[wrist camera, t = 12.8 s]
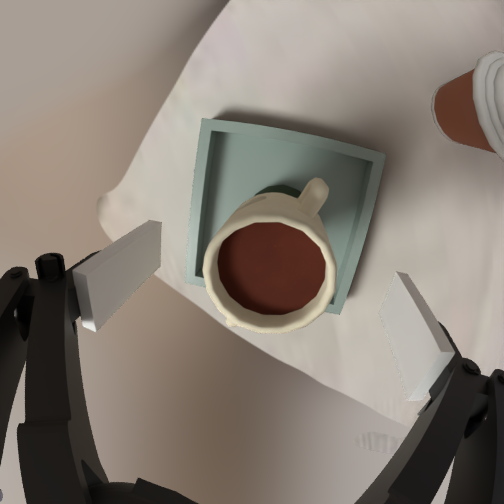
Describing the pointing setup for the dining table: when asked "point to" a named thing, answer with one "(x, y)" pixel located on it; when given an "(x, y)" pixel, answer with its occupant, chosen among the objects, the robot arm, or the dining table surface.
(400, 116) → the dining table surface
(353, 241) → the tray
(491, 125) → the coffee cup
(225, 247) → the character mug
